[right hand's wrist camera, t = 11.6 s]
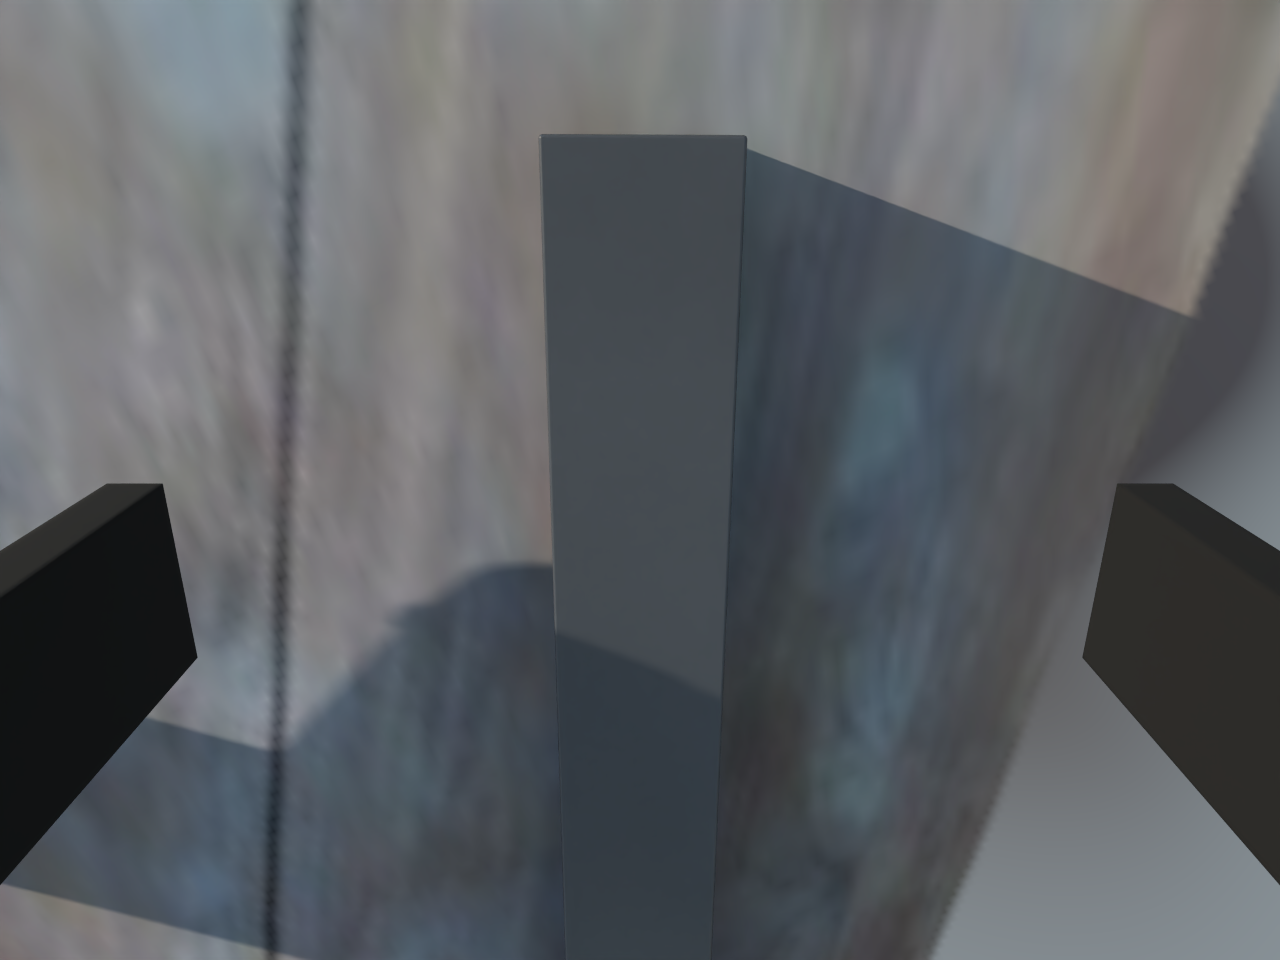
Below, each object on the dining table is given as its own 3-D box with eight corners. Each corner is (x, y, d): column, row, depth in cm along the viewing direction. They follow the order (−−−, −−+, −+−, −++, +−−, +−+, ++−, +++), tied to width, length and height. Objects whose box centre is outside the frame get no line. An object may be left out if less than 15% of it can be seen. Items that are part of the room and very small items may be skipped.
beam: (562, 137, 30) (538, 133, 23) (722, 138, 30) (747, 135, 23) (588, 1229, 51) (580, 1406, 43) (684, 1229, 51) (692, 1406, 43)
